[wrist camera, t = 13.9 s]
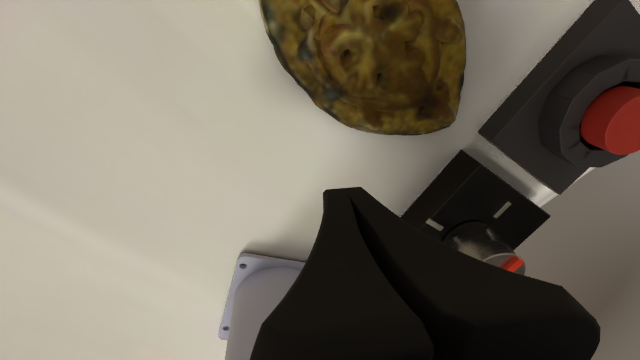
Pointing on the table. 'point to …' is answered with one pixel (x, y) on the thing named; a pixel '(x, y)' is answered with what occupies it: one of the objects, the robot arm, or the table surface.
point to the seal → (374, 59)
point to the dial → (484, 246)
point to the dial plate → (474, 203)
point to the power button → (614, 121)
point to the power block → (569, 96)
